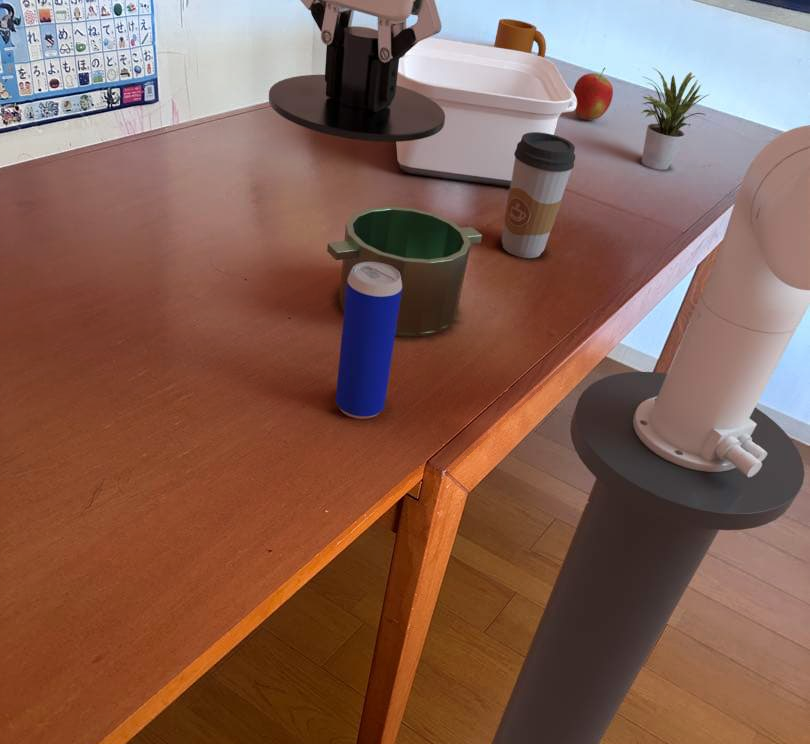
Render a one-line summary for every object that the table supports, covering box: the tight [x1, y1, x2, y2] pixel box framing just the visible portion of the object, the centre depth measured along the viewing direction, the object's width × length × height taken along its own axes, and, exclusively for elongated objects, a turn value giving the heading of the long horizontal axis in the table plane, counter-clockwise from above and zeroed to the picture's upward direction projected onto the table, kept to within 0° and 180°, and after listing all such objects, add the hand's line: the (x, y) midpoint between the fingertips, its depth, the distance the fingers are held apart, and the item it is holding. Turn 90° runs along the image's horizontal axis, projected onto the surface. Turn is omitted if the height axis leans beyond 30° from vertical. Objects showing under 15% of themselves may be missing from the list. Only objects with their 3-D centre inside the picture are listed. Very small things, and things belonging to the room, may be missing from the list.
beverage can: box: [335, 262, 402, 420], centre depth 80 cm, size 5×5×15 cm
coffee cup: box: [501, 132, 576, 259], centre depth 115 cm, size 8×8×15 cm
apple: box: [572, 67, 614, 121], centre depth 168 cm, size 8×8×10 cm
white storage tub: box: [395, 36, 577, 188], centre depth 139 cm, size 34×29×15 cm
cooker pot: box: [326, 206, 483, 338], centre depth 99 cm, size 15×20×10 cm
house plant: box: [641, 67, 709, 171], centre depth 152 cm, size 14×14×16 cm
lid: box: [268, 25, 445, 143], centre depth 71 cm, size 16×16×7 cm
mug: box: [493, 18, 547, 58], centre depth 190 cm, size 9×12×9 cm
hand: (358, 99), depth 73 cm, fingers closed on lid, 3 cm apart
